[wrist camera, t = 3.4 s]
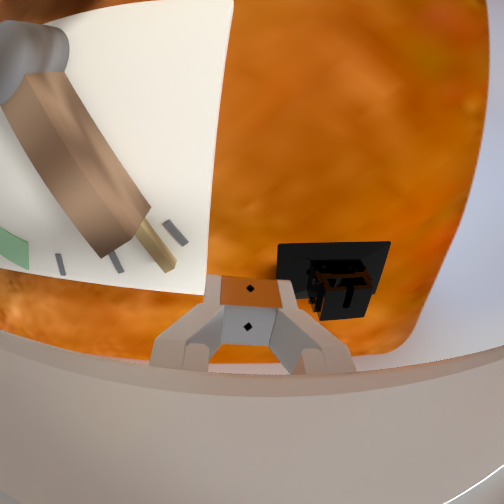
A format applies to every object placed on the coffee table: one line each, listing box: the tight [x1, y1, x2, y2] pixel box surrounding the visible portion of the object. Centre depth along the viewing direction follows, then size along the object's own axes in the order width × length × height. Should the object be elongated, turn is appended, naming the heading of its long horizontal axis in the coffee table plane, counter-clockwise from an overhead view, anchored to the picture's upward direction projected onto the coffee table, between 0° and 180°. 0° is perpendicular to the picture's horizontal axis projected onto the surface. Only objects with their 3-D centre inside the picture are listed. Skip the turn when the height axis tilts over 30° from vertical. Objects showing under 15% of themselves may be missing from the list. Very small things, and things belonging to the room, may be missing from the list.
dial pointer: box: [0, 20, 177, 273], centre depth 12 cm, size 20×5×4 cm, turn 28°
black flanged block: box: [276, 241, 391, 321], centre depth 21 cm, size 12×7×5 cm, turn 89°
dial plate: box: [0, 0, 234, 295], centre depth 15 cm, size 20×24×2 cm
